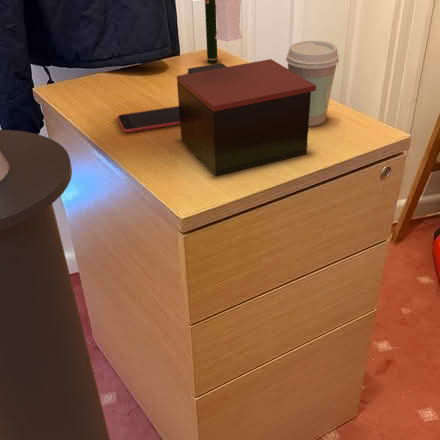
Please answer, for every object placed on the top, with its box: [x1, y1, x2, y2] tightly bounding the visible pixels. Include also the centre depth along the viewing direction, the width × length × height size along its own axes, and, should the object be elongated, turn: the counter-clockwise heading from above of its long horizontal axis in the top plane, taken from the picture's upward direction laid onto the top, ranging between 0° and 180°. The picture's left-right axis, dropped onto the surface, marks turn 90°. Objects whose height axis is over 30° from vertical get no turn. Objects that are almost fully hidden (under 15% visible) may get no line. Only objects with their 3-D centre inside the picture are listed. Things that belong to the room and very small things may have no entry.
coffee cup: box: [285, 40, 340, 127], centre depth 97 cm, size 8×9×12 cm
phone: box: [187, 62, 228, 74], centre depth 115 cm, size 8×1×15 cm
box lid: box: [176, 58, 316, 112], centre depth 86 cm, size 16×14×1 cm
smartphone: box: [117, 105, 180, 133], centre depth 102 cm, size 7×1×14 cm
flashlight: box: [204, 0, 218, 64], centre depth 119 cm, size 5×5×20 cm
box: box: [176, 81, 311, 177], centre depth 90 cm, size 16×14×10 cm
